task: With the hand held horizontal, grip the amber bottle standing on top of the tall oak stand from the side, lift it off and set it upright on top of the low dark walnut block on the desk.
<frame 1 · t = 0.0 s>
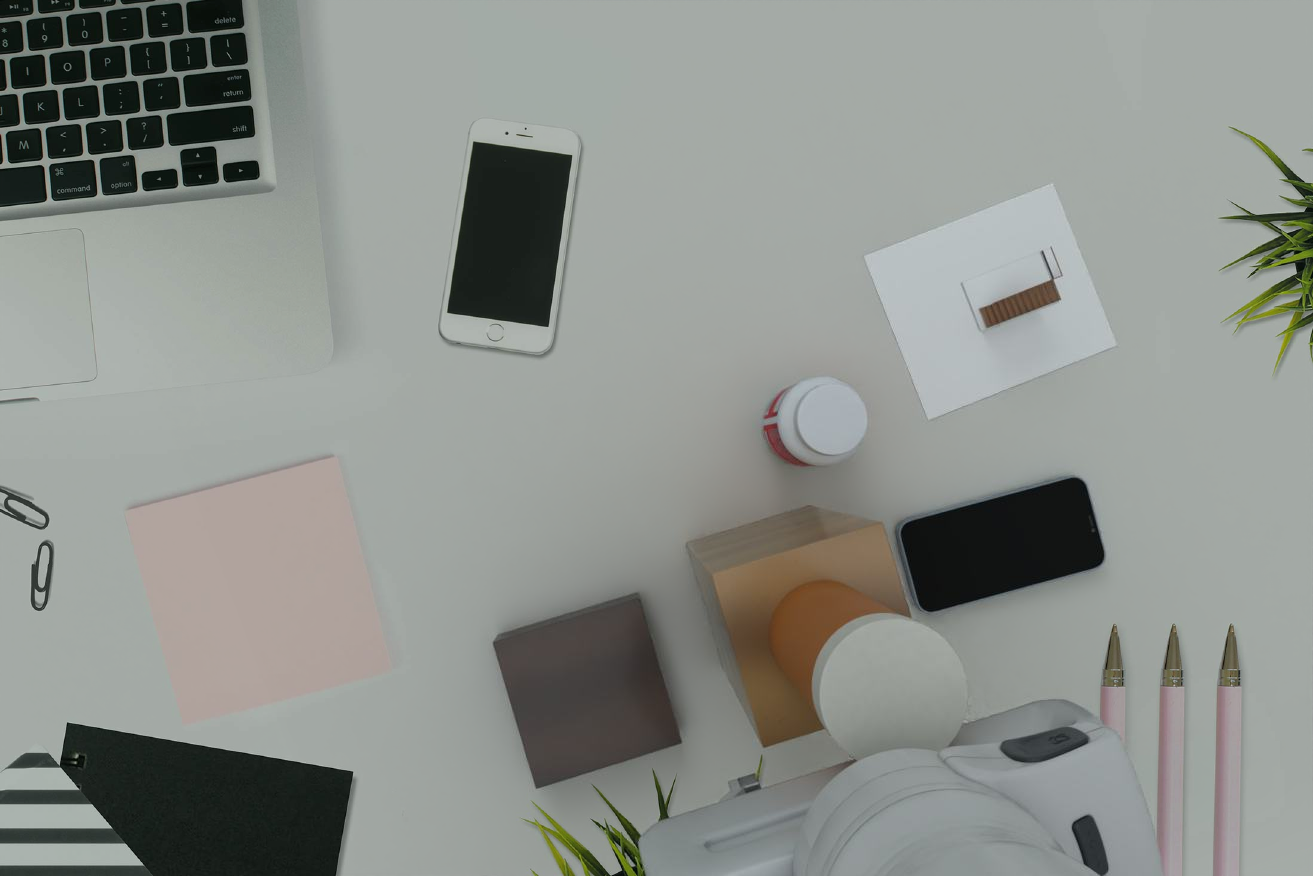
hand: (835, 763, 48), 25 cm above the table, tool pointing down, fingers open, 8 cm apart
pill bottle: (799, 425, 74), on the table
amber bottle: (823, 634, 53), point 20 cm above the table, touching oak stand
oak stand: (767, 586, 73), on the table
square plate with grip: (989, 301, 74), on the table
walnut block: (588, 683, 72), on the table
smartphone: (997, 543, 74), on the table
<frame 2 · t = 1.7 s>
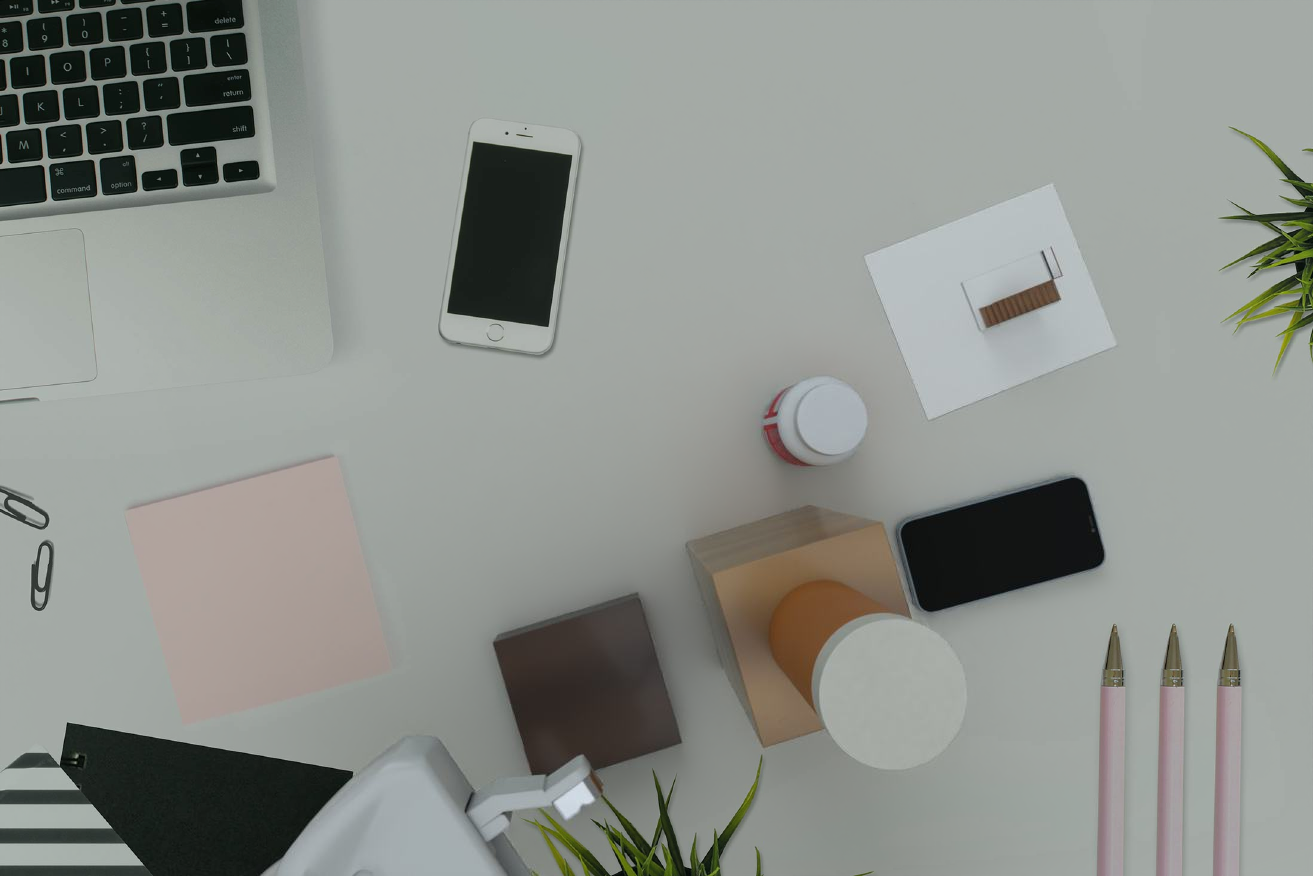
hand: (660, 870, 38), 34 cm above the table, tool horizontal, fingers open, 8 cm apart
nothing on the table moved.
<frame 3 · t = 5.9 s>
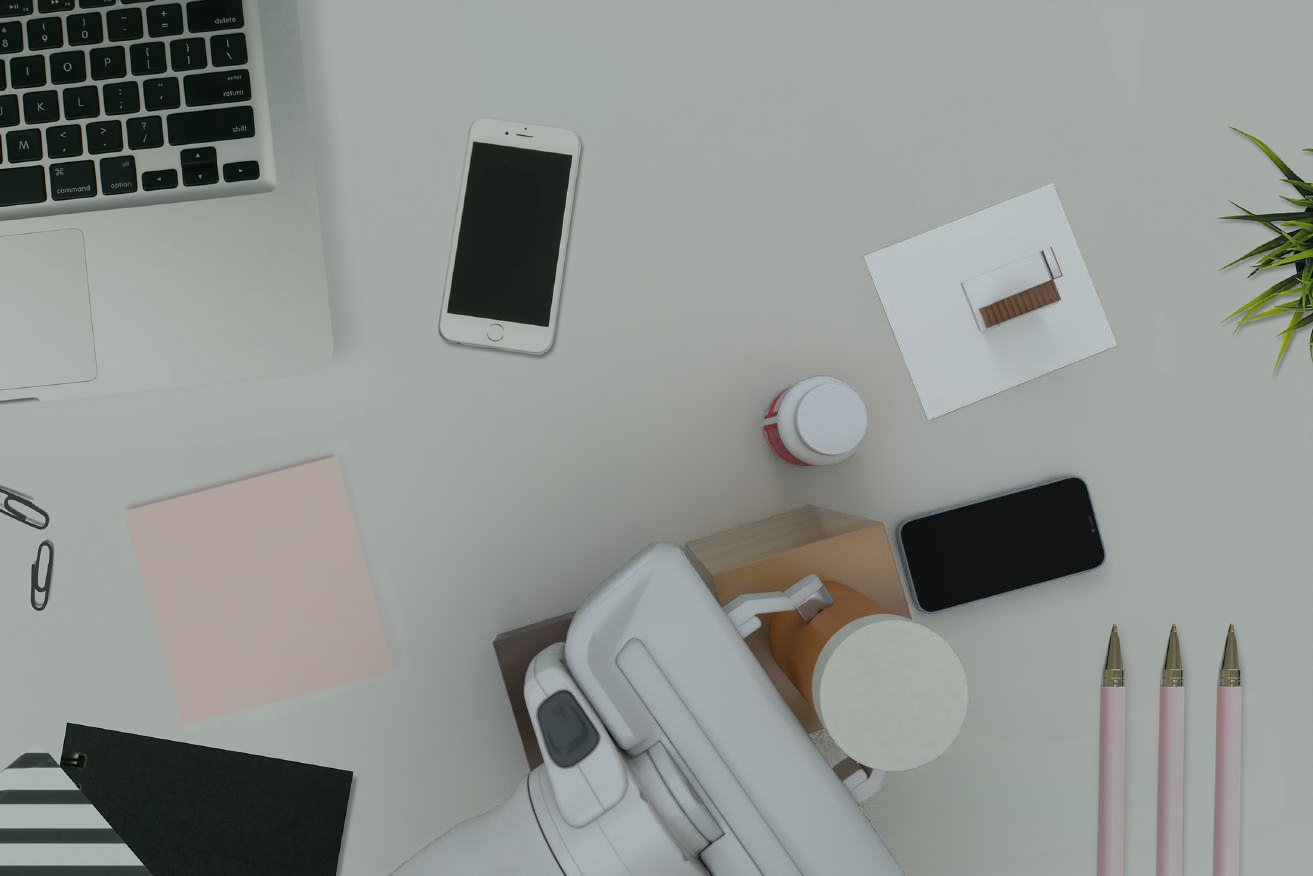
hand: (866, 648, 47), 27 cm above the table, tool horizontal, fingers closed on amber bottle, 6 cm apart
amber bottle: (823, 635, 53), point 20 cm above the table, touching gripper, oak stand
everything else where it was.
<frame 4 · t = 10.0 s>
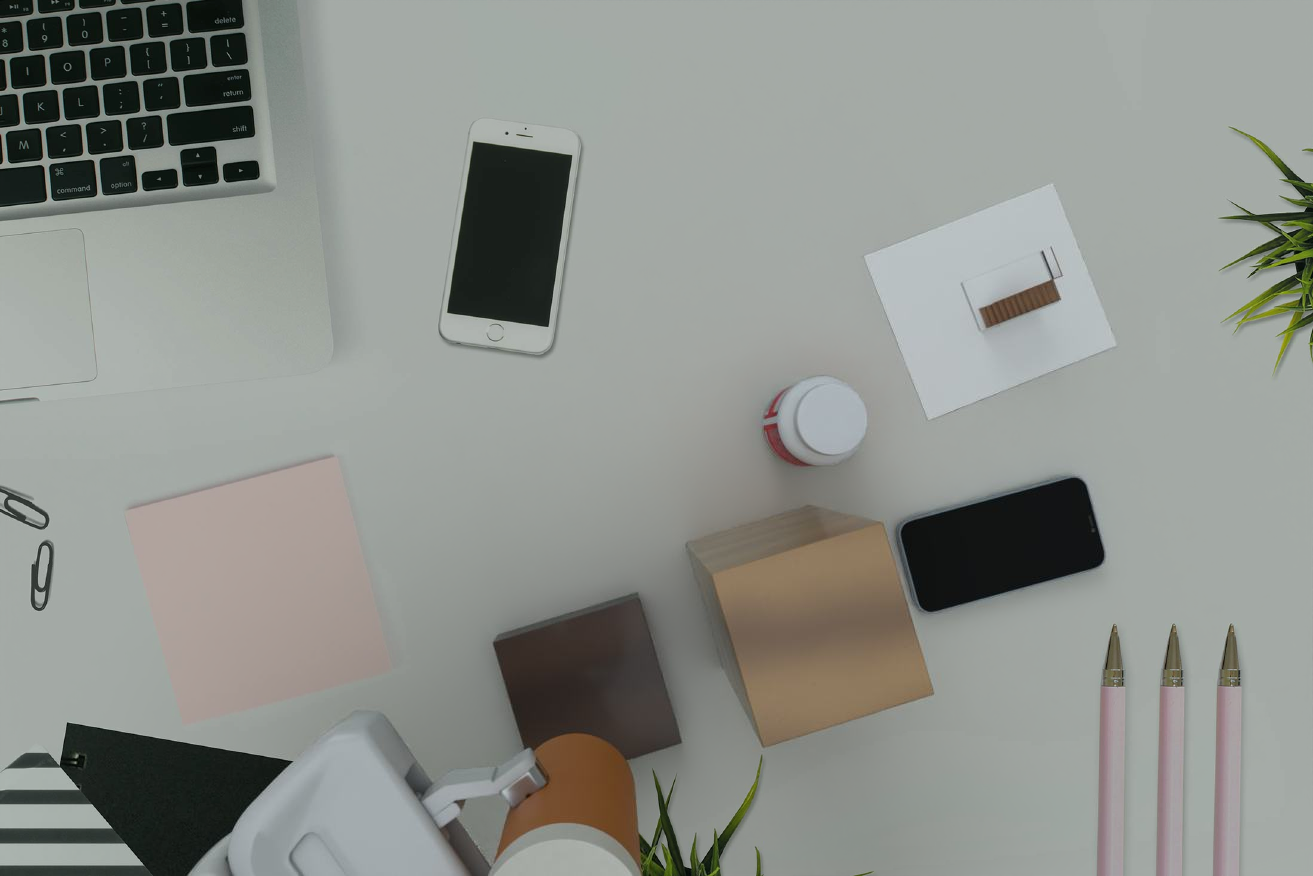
hand: (586, 832, 42), 31 cm above the table, tool horizontal, fingers closed on amber bottle, 6 cm apart
amber bottle: (575, 793, 48), point 24 cm above the table, touching gripper
everything else where it was.
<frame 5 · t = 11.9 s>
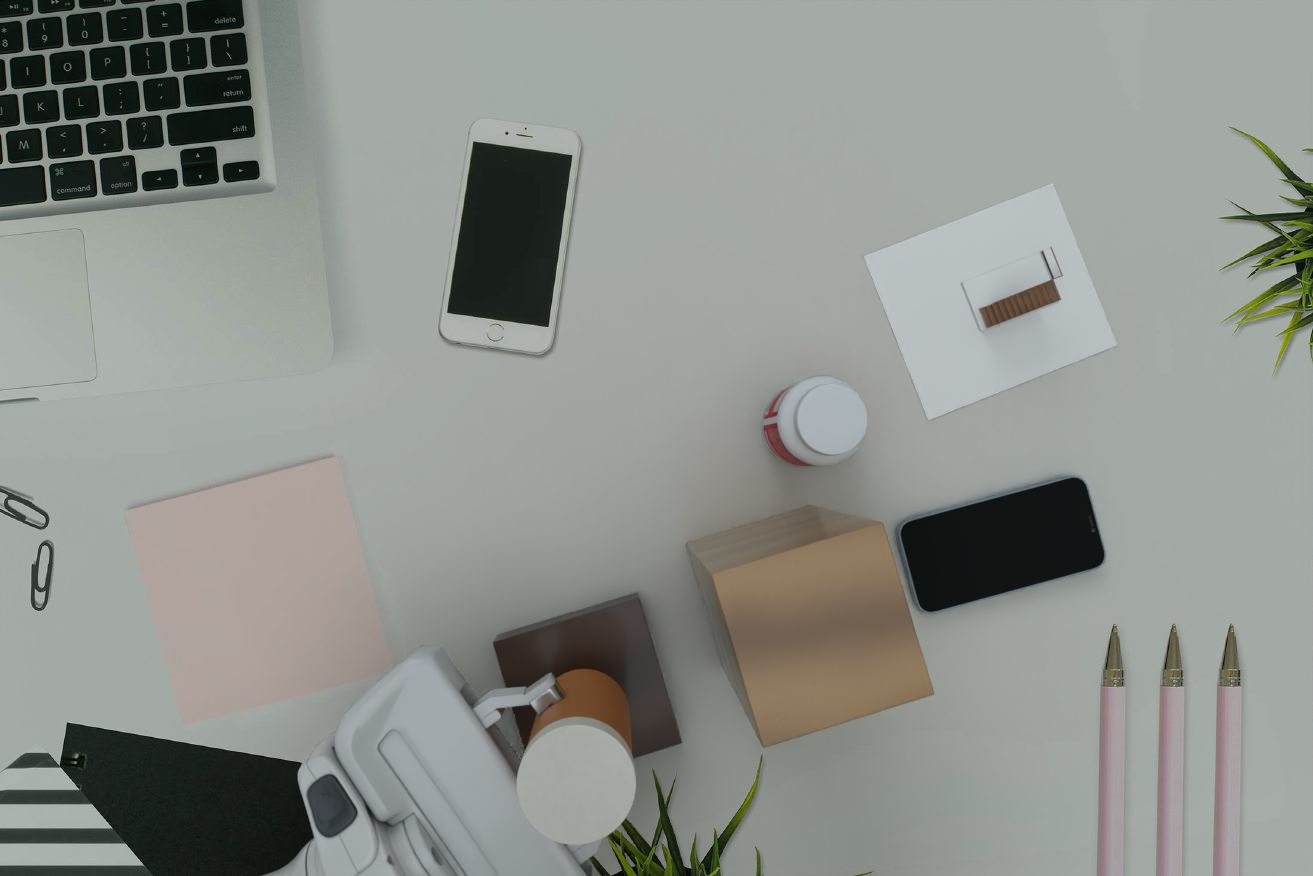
hand: (592, 734, 57), 15 cm above the table, tool horizontal, fingers closed on amber bottle, 6 cm apart
amber bottle: (583, 714, 63), point 9 cm above the table, touching gripper
everything else where it was.
when the fingers open (10 cm above the table, at t = 14.0 s): amber bottle stays where it is, resting on walnut block.
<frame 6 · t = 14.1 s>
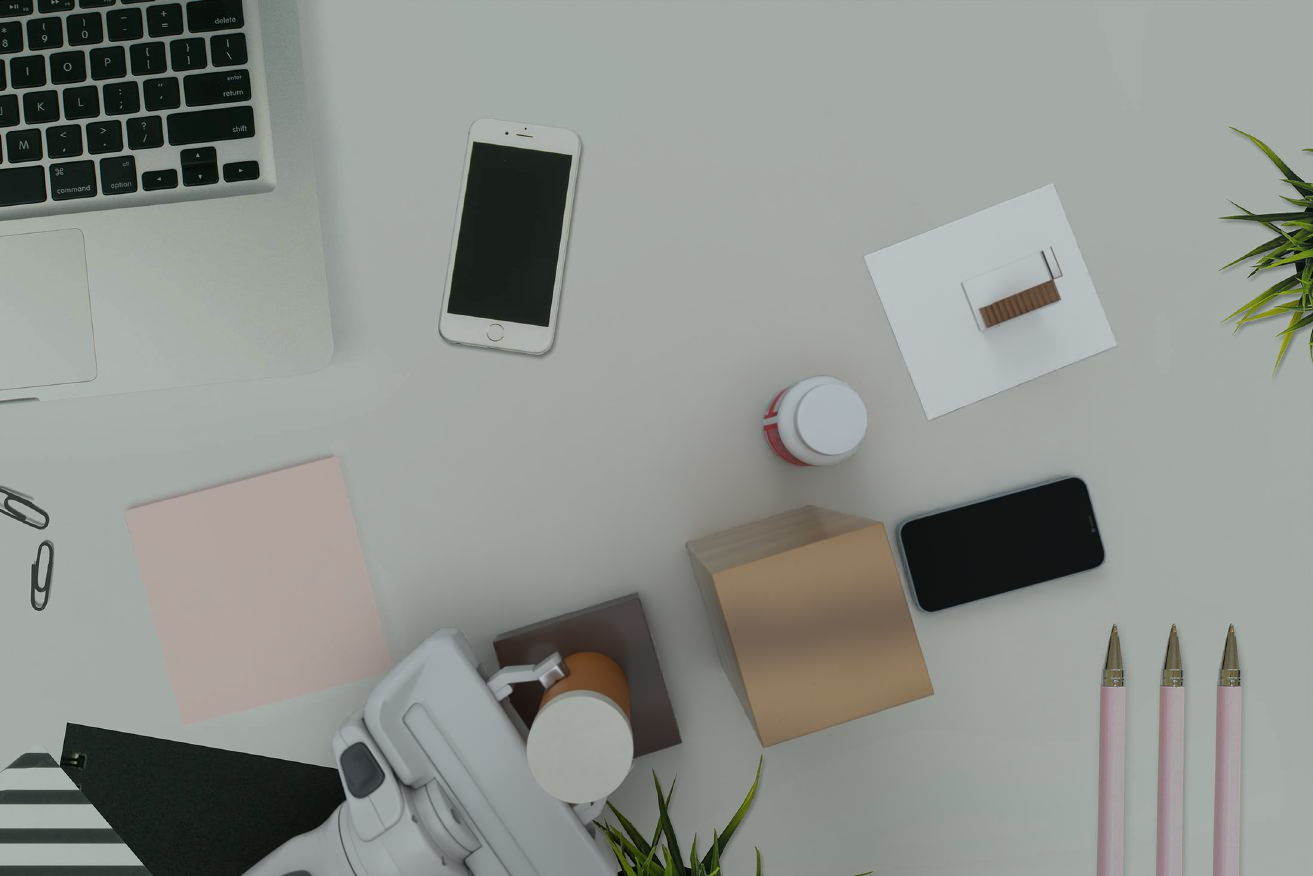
hand: (595, 708, 63), 9 cm above the table, tool horizontal, fingers open, 6 cm apart
amber bottle: (587, 693, 69), point 3 cm above the table, touching walnut block
everything else where it was.
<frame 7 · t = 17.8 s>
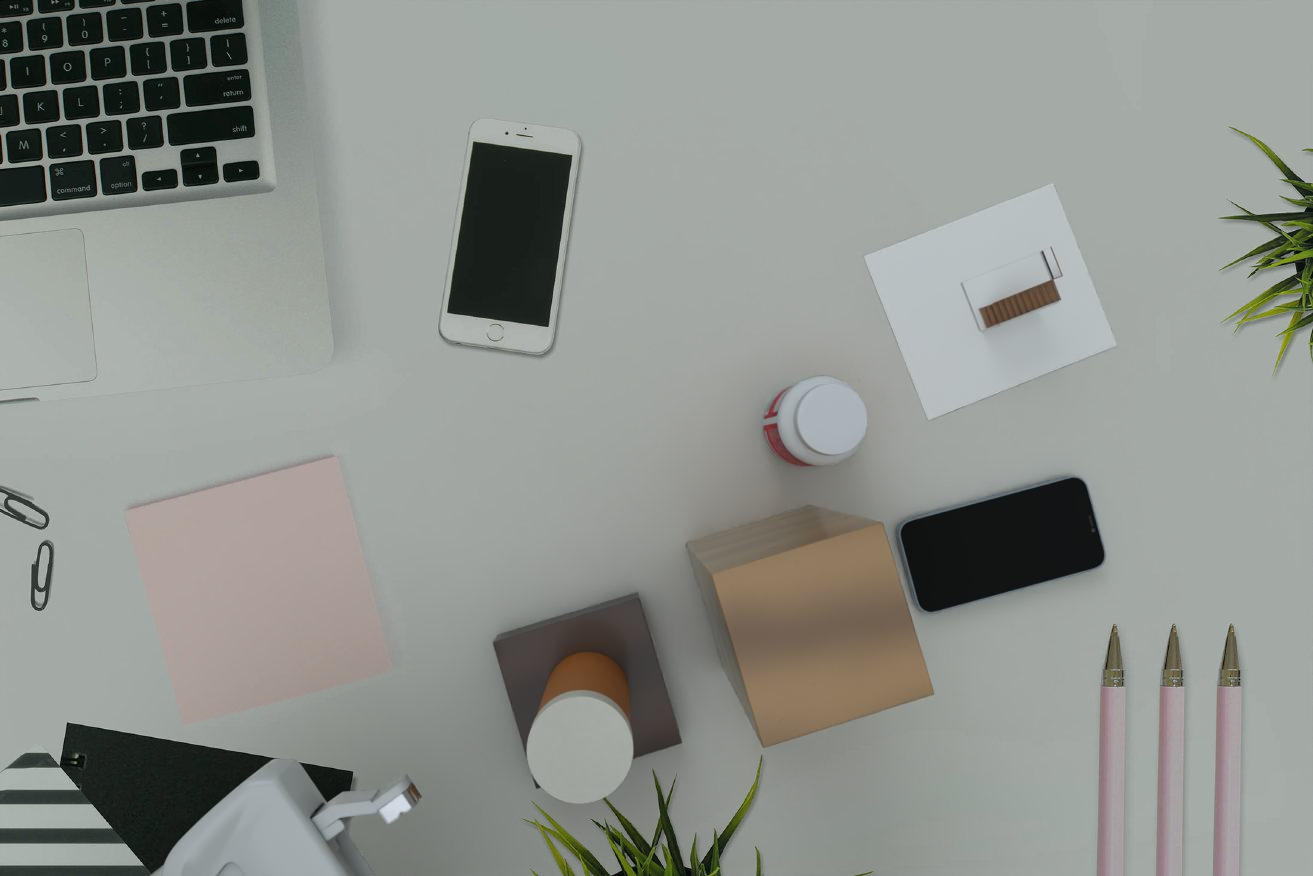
hand: (464, 862, 50), 22 cm above the table, tool horizontal, fingers open, 8 cm apart
nothing on the table moved.
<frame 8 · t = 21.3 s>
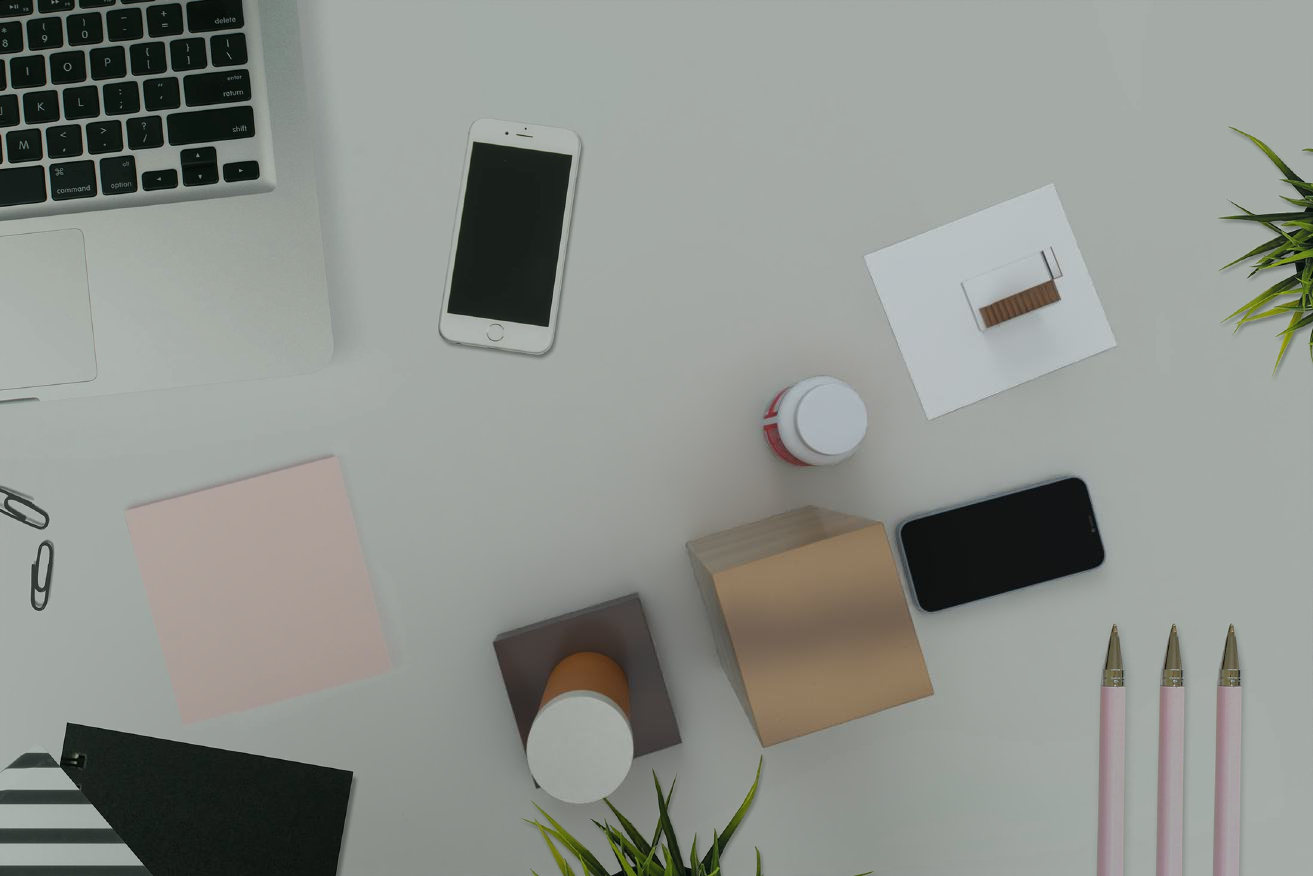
nothing on the table moved.
at the end: amber bottle 0.0 cm off-centre on the walnut block, point 3.0 cm above the walnut block's base; amber bottle tilted 0°; the gripper is holding nothing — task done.
